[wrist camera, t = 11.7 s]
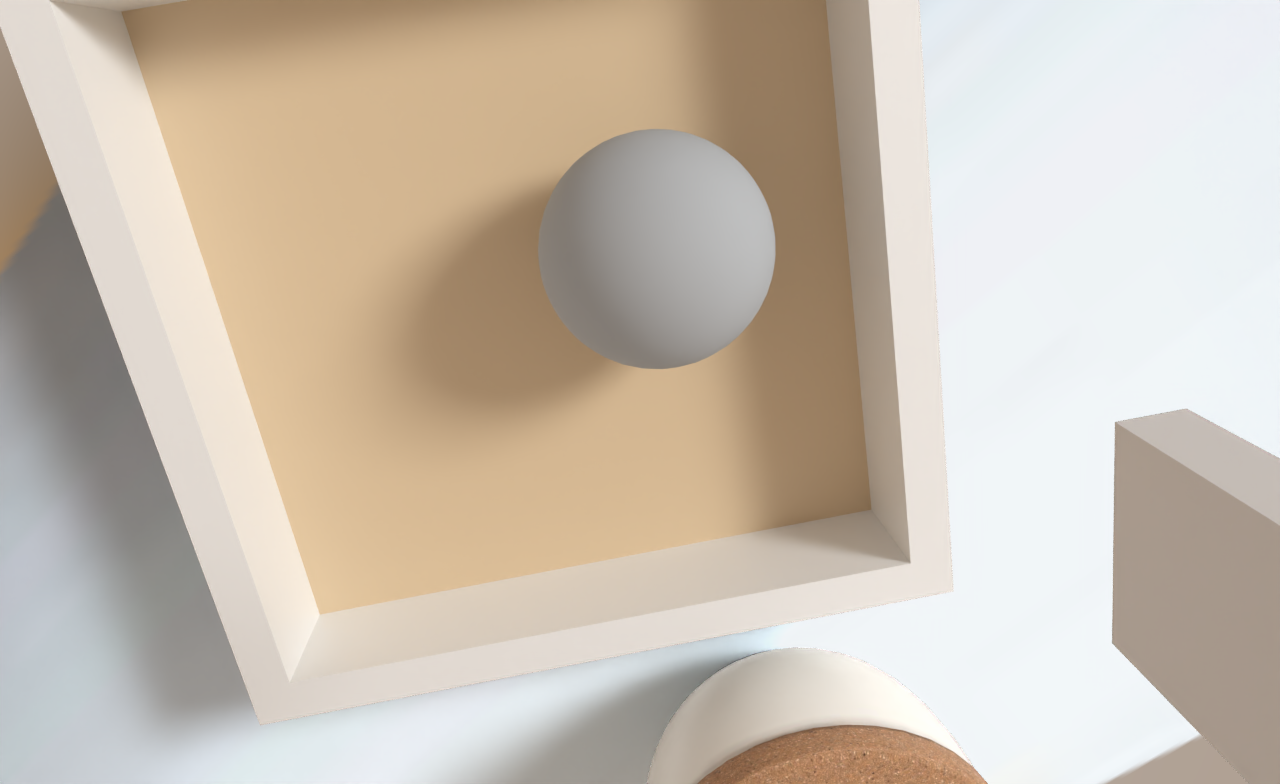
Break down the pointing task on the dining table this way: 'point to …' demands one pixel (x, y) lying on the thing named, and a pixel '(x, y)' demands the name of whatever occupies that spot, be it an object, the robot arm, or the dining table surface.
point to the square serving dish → (499, 323)
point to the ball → (656, 249)
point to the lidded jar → (806, 727)
